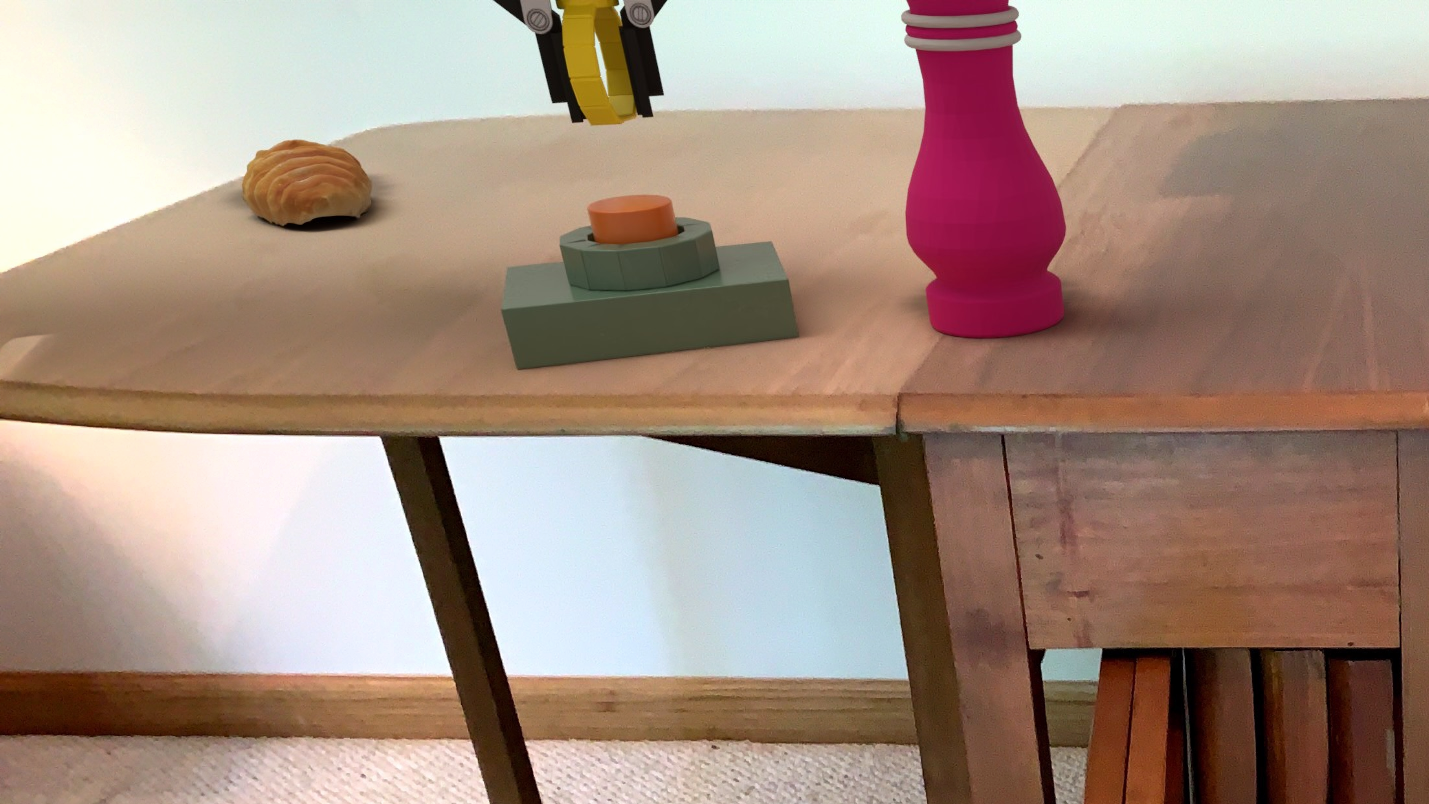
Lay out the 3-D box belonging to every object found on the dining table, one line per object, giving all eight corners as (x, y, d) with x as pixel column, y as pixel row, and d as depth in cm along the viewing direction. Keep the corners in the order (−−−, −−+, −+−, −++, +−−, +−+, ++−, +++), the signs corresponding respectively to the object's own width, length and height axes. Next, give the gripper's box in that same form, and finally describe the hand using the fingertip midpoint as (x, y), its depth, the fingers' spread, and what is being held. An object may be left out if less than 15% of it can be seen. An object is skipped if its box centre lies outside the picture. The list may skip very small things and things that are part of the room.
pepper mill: (913, 308, 83) (843, -162, 72) (1061, 294, 84) (1014, -166, 74) (927, 349, 77) (854, -157, 66) (1087, 332, 78) (1039, -161, 68)
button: (596, 255, 76) (586, 214, 75) (595, 237, 79) (586, 198, 78) (681, 246, 77) (673, 207, 76) (677, 230, 80) (669, 191, 79)
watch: (628, 133, 81) (595, -3, 78) (568, 136, 81) (533, -1, 78) (660, 112, 86) (630, -17, 83) (603, 114, 86) (572, -15, 83)
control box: (516, 370, 75) (488, 266, 72) (521, 324, 81) (495, 227, 79) (799, 337, 78) (780, 238, 76) (782, 295, 85) (765, 203, 83)
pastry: (395, 220, 101) (375, 153, 99) (267, 238, 97) (243, 169, 95) (364, 194, 107) (344, 131, 105) (243, 211, 104) (220, 145, 102)
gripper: (291, -337, 68) (426, 143, 78) (711, -336, 74) (790, 115, 83) (314, -327, 74) (437, 117, 84) (700, -326, 80) (775, 92, 89)
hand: (611, 112), depth 83 cm, fingers closed on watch, 2 cm apart
